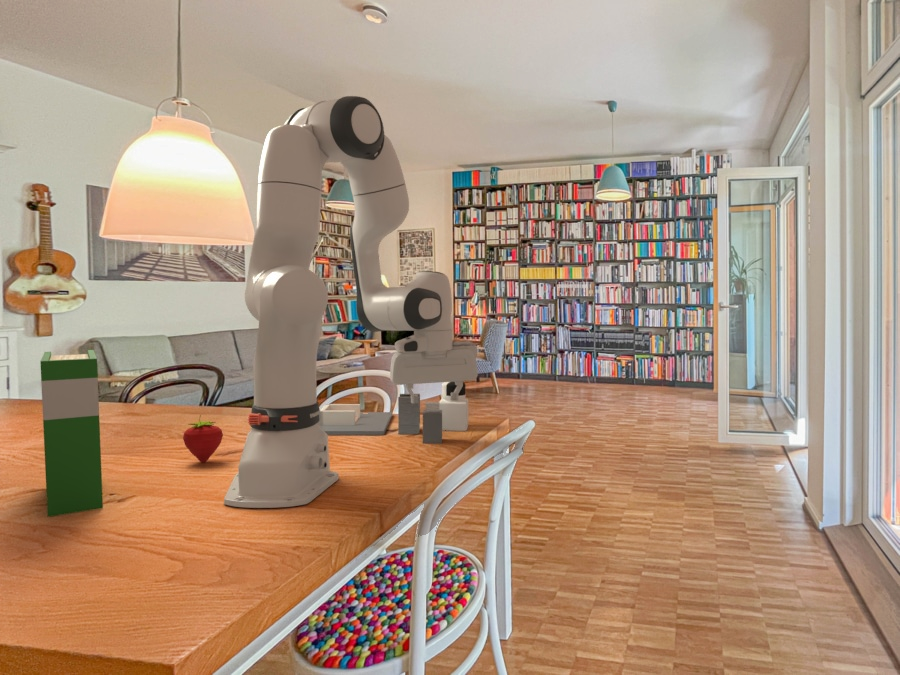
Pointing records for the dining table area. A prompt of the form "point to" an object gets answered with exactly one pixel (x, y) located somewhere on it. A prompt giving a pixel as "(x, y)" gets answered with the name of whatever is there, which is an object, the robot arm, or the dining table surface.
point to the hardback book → (71, 433)
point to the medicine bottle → (454, 408)
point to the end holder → (352, 420)
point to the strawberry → (202, 439)
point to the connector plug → (432, 423)
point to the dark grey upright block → (408, 415)
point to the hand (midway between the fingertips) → (434, 401)
